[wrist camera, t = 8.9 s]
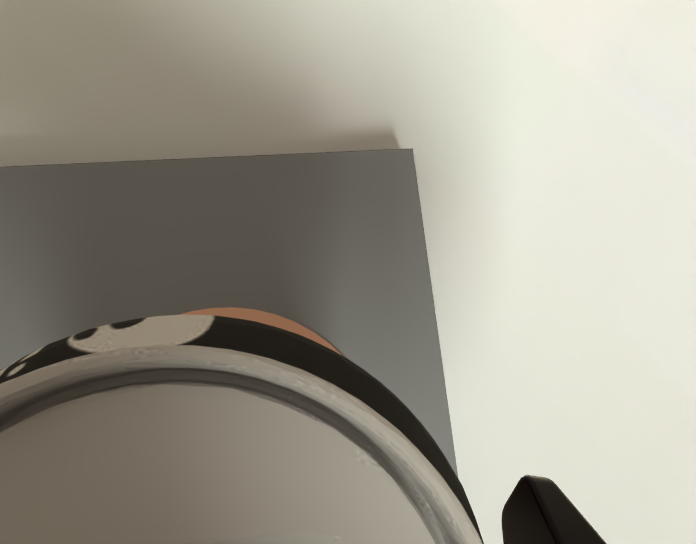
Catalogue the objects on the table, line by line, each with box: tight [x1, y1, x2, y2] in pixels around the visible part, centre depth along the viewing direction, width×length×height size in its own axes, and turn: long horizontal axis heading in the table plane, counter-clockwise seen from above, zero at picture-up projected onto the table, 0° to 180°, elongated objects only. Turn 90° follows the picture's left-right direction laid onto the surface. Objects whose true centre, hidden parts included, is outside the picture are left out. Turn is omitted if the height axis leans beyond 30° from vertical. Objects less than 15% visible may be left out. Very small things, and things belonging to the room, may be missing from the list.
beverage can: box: [0, 315, 484, 544], centre depth 10 cm, size 7×7×12 cm
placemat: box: [0, 149, 458, 478], centre depth 16 cm, size 13×18×1 cm
